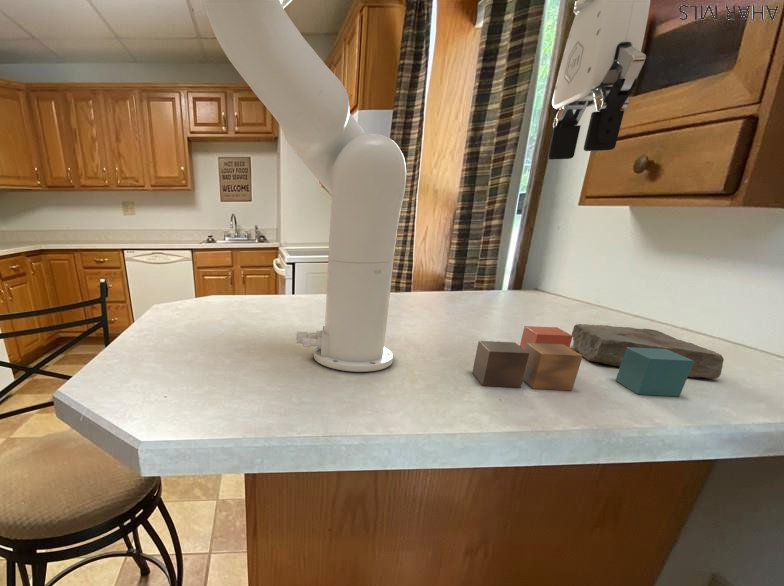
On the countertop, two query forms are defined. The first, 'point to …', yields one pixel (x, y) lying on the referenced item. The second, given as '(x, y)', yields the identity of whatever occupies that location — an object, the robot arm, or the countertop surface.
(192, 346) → the countertop surface
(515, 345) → the walnut block
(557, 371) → the oak block
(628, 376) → the teal block
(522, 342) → the terracotta block
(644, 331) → the grey stone slab
